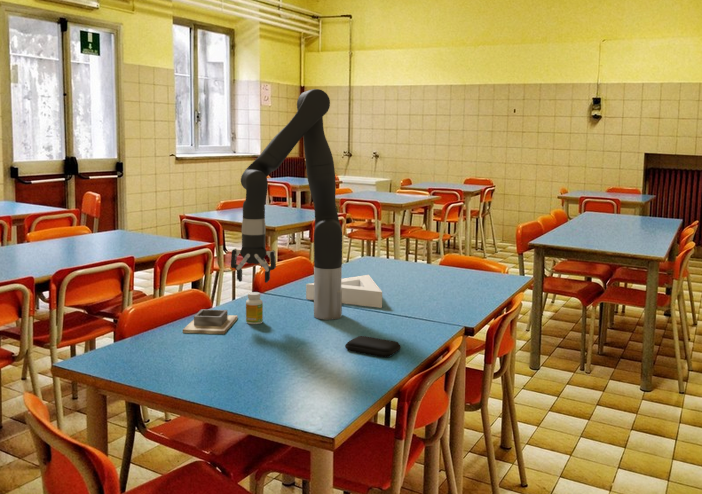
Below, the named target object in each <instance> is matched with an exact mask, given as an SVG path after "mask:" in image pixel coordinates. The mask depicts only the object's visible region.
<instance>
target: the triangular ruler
mask: <svg viewBox="0 0 702 494" xmlns="http://www.w3.org/2000/svg"><path fill="white" fill-rule="evenodd" d="M341 287H342V304H345V305H353V306H363V307H364V306H365V307H373V308H380V309H381V308H383V291H382V289H381V288H380V287H379V286H378V285H377V283H376V282H375V281H374V280H373V278H372V277H371V276H370V274H364V275H359V276H350V277H345V278H343V277H342V278H341ZM305 289H306V290H305V296H306V297H305V299H306V300H312V301H314V282H312V283H306V284H305Z"/></svg>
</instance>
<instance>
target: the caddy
mask: <svg viewBox="0 0 702 494" xmlns="http://www.w3.org/2000/svg"><path fill="white" fill-rule="evenodd" d="M237 320H238V315H237V314H235V315H230V314H228V309H204V308H203V309H202V308H201V309H200V310H199V311H198V312H196V313H195V314H194V316H193V320H191V321H190V322H189V323H188V324H187V325H186V326H185V327H183V328H182V333H183V334H207V335H209V334H210V335H211V334H212V335H214V334H216V335H225V334H226V333H227V331H229V329H230V328H231V327H232V326H233V324H234V323H235V322H236V321H237Z"/></svg>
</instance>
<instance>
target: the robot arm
mask: <svg viewBox="0 0 702 494" xmlns="http://www.w3.org/2000/svg"><path fill="white" fill-rule="evenodd" d="M330 107H331V99H330V96H329V95H328V93H327V92H326V91H324V90H322V89H319V88H313V89H309V90H305V91H304V92H301V94H300V95H299V96H298V99H297V101H296V110H297V112H296V113H295V114H294V115H293V117H292V118H291V120H289V122H288V123H287V124H286V125H284V127H283V128H282V129H280V131H278V133H277V134H276V135H275V136H274V137H273V138H272V139H271V141H269V142H268V144H267V145H266V146H265V148H264V149H263V150H262V152H261V153H260V155H259V156H258V157H257V158H256V159H254V161H253V162H251V164H249V165H248V166H247V167H246V168H245V170H244V171H243V173H242V174H241V176H240V184H241V186H242V188H244V189H245V191H246V192H245V200H244V201H243V203H242V221H241V222H242V223H241V249H237V248H233V249H232V250H231V255H230V257H231V258H230V268H231V269H235V271H236V280H237V281H238V282H240V283H241V282H242V281H243V269H242V268H243V267H244V266H245V264H246V263H247V264H249V265H251V264H254V265H258V264H260V266H261V267H262V268H263V269H264V270H265V271H264V283H266V284H267V283H268V282H269V281H270V279H271V271H274V270H275V269H276V267H277V261H276V251H275V250H271V251H270V250H266V228H267V227H266V226H267V225H266V217H265V216H266V211H265V210H266V206H265V205H266V201H267V195H268V188H269V184H268V177H269V175H270V174H271V173H272V172H274V171H276V170H278V169H279V167H280V166H281V165H282V163H283V162H284V161H285V160H286V159H287V157H289V154H290V153H291V152H292V151H293V150H294V148H295V147H296V146H297V145H298V143H299V141H300V140H303V150H304V151H303V152H304V158H305V159H304V160H305V168H306V170H305V171H306V177H307V182H308V187H309V191H310V195H311V198H312V202H313V207H314V232H313V233H314V234H313V276H314V277H313V283H314V300H313V317H314V318H316V319H318V320H337V319H338V320H339V319H341V318H342V314H343V313H342V311H343V308H342V307H343V303H342V287H341V279H342V278H343V277H342V276H343V275H342V271H343V270H342V268H343V267H342V266H343V265H342V264H343V263H342V262H343V229H342V225H341V223H340V218H339V215H338V214H339V213H338V210H337V205H336V204H337V202H336V190H337V189H336V183H337V182H336V172H335V171H336V170H335V162H334V157H333V154H332V151H331V148H330V145H329V143H328V140H327V138H326V134H325V130H324V129H325V128H324V116H325V115H326V114H327V113H328V111H329V110H330ZM302 138H303V139H302ZM239 255H241V257H242V260H241V261H240V262H239V263H238V264H237V260H238V256H239ZM266 256H267V257H268V258H269V259H270V265H269V264H268V262H267V260H266V259H265V257H266Z"/></svg>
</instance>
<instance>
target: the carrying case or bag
mask: <svg viewBox="0 0 702 494" xmlns="http://www.w3.org/2000/svg"><path fill="white" fill-rule="evenodd" d="M344 347H345V349H346V350H347V351H348V352H352V353H357V354H358V353H359V354H364V355H366V356H372V357H377V358H378V357H379V358H383V359H384V358H386V359H387V358H390V357H392V356H393V355H395V354H396V353H398V352H399V351H400V350H401V349H402V346H401V344H400V343H399V342H398V341H394V340H388V339H382V338H378V337H373V336H367V335H366V336H365V335H357V337H354V338H351V340H349V341H347V343H345V344H344Z"/></svg>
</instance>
